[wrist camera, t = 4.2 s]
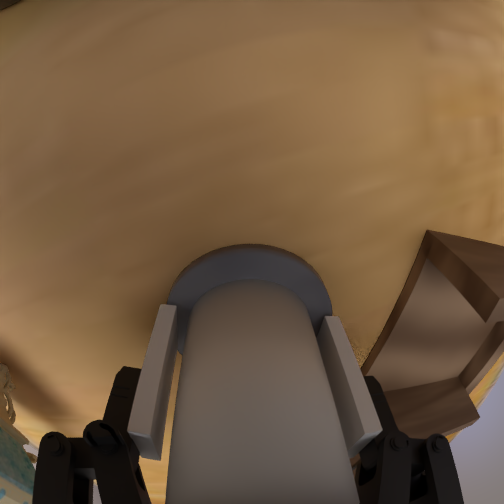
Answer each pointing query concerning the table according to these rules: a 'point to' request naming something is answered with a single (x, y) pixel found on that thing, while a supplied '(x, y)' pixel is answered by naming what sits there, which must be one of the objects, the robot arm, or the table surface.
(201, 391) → the cable reel
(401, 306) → the wooden divided tray
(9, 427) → the ornate lidded vase
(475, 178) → the table surface
